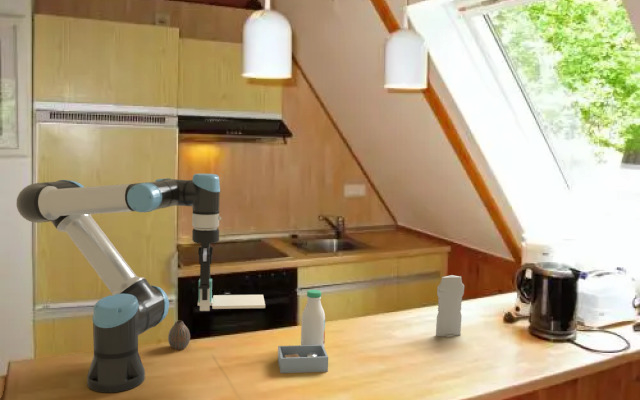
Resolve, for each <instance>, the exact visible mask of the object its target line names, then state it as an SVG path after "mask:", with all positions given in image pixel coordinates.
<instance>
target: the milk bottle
mask: <svg viewBox="0 0 640 400" xmlns="http://www.w3.org/2000/svg"><path fill="white" fill-rule="evenodd" d="M306 298H307V300H306V301H307V302H306V305H305V307H304V308H303V309H302V314H301V327H300V335H301V336H300V345H323V346H324V347H325V345H326V343H325V342H326V341H325V340H326V335H325V334H326V314H325V310H324V308H323V305H322V302H321V299H322V291H321V290H318V289H309V290H307V291H306Z"/></svg>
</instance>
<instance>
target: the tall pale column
mask: <svg viewBox="0 0 640 400" xmlns="http://www.w3.org/2000/svg"><path fill="white" fill-rule="evenodd" d="M439 282H440V283H439V284H438V285H437V291H436V293H437V294H436V296H437V297H438V298H437V301H438V305H437V306H438V307H437V315H436V324H435V325H436V329H435V336H436V337H438V336H439V337H442V338H444V337H445V338H446V337H447V338H452V337H453V338H454V337H456V336H461V334H462V333H461V331H462V330H461V329H462V312H461V311H462V301H463V296H464V295H465V284H464V283H463V280H462V276H461V275H460V276H459V275H453V274H451V275H447V276H442V277H441V280H440V281H439Z"/></svg>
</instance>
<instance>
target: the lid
mask: <svg viewBox="0 0 640 400" xmlns="http://www.w3.org/2000/svg"><path fill="white" fill-rule="evenodd" d="M198 279H199V280H198V287H200V278H198ZM212 279H213V278H210V279H209V285H210V306H212V309H213V310H219V309H220V310H222V309H223V310H224V309H227V310H228V309H229V310H231V309H266V301H265V298H264V294H218V295H217V294H216V295H215V294H214V295H213V291H212V290H213V282H212ZM198 306H199V307H200V289H198V300H197V307H198Z"/></svg>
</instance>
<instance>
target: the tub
mask: <svg viewBox="0 0 640 400" xmlns="http://www.w3.org/2000/svg"><path fill="white" fill-rule="evenodd" d="M308 353H316V354H317V357H307V354H308ZM290 354H298V355H299V356H300V357H291V358H284V355H290ZM277 363H278V367H279V372H280V374H294V373H295V374H297V373H298V374H299V373H321V372H322V373H324V372H325V373H327V372H328V371H329V368H328V367H329V356H328V354H327V351H326V349H325V345H324V346H323V345H301V344H300V345H278V346H277Z"/></svg>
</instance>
